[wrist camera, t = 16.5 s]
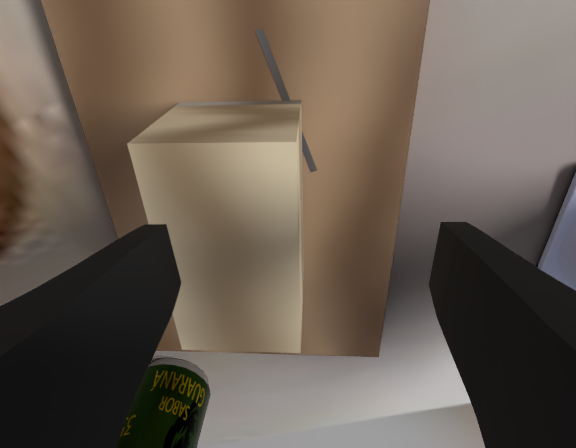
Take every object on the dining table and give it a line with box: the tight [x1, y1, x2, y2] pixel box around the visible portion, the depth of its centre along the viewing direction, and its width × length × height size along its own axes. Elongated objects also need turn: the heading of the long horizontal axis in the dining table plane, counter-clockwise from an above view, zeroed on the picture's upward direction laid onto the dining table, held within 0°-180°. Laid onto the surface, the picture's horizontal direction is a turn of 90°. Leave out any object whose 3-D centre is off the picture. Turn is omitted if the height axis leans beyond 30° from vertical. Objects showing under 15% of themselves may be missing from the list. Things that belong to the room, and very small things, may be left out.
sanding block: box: [127, 100, 304, 353], centre depth 15 cm, size 5×9×5 cm, turn 2°
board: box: [41, 0, 430, 357], centre depth 18 cm, size 14×20×2 cm
